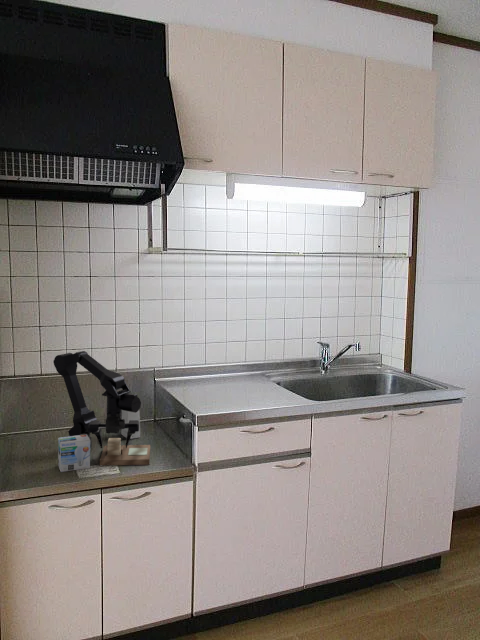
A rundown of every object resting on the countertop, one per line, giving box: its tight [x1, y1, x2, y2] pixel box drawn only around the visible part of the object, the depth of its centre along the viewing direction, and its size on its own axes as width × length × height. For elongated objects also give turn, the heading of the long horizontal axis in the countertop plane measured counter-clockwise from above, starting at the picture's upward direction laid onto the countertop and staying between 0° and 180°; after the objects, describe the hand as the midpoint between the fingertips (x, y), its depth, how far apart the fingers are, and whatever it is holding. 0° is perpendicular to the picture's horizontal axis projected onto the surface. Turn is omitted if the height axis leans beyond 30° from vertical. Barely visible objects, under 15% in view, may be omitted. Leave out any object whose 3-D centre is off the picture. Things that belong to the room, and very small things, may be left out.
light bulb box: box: [57, 434, 91, 473], centre depth 190 cm, size 11×7×11 cm, turn 118°
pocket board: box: [99, 444, 151, 466], centre depth 201 cm, size 18×15×2 cm
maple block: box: [107, 437, 122, 456], centre depth 200 cm, size 4×4×7 cm
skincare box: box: [120, 409, 141, 440], centre depth 224 cm, size 8×6×15 cm
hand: (114, 447), depth 200 cm, fingers open, 9 cm apart
